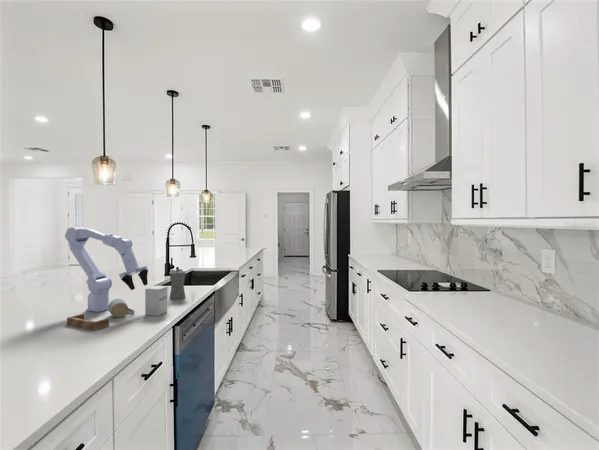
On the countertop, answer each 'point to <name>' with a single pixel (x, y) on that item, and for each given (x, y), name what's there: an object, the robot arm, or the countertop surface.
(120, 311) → the ceramic mug
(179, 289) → the coffeepot
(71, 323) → the rail
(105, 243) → the robot arm
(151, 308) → the supplement box
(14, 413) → the countertop surface
